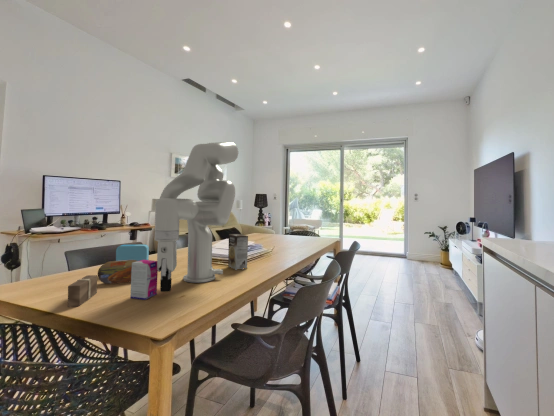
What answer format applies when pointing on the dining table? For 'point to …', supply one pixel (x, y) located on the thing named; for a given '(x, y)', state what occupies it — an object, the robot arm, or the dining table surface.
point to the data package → (132, 252)
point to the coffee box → (238, 251)
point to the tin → (116, 272)
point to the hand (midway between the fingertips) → (165, 290)
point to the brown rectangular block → (82, 290)
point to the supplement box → (144, 279)
